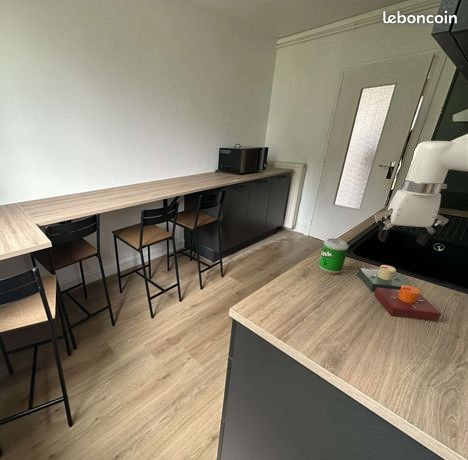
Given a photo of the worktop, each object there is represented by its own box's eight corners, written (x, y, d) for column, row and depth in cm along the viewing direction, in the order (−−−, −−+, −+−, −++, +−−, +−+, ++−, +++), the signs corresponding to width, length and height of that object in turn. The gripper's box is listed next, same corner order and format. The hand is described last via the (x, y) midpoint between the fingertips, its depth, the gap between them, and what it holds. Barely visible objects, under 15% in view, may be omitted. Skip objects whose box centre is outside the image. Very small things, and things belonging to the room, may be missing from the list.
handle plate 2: (414, 299, 79) (418, 291, 78) (437, 321, 70) (441, 312, 69) (373, 294, 82) (376, 286, 80) (390, 316, 73) (394, 307, 72)
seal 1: (388, 274, 87) (392, 264, 85) (395, 281, 83) (399, 271, 82) (374, 273, 88) (378, 263, 86) (380, 279, 84) (384, 269, 83)
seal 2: (410, 295, 76) (414, 285, 75) (419, 304, 72) (424, 293, 71) (394, 294, 77) (398, 283, 76) (402, 302, 73) (407, 291, 72)
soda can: (339, 266, 98) (347, 239, 93) (342, 276, 92) (351, 247, 87) (317, 263, 101) (323, 236, 96) (319, 272, 95) (326, 244, 90)
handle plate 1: (392, 278, 90) (395, 270, 88) (410, 295, 81) (413, 287, 80) (357, 275, 92) (359, 267, 91) (370, 291, 83) (373, 283, 82)
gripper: (451, 185, 71) (428, 239, 78) (378, 183, 76) (362, 234, 83) (471, 192, 65) (444, 250, 71) (390, 189, 70) (372, 244, 76)
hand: (400, 242), depth 77 cm, fingers open, 9 cm apart
